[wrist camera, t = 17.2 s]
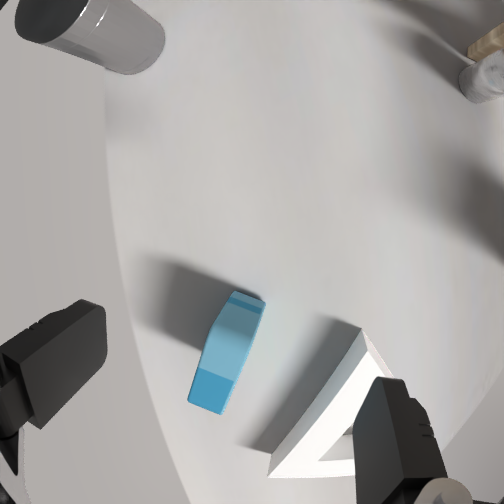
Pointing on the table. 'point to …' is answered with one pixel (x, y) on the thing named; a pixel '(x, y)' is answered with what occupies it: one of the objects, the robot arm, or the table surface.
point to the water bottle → (484, 78)
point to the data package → (225, 352)
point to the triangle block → (330, 419)
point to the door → (487, 44)
